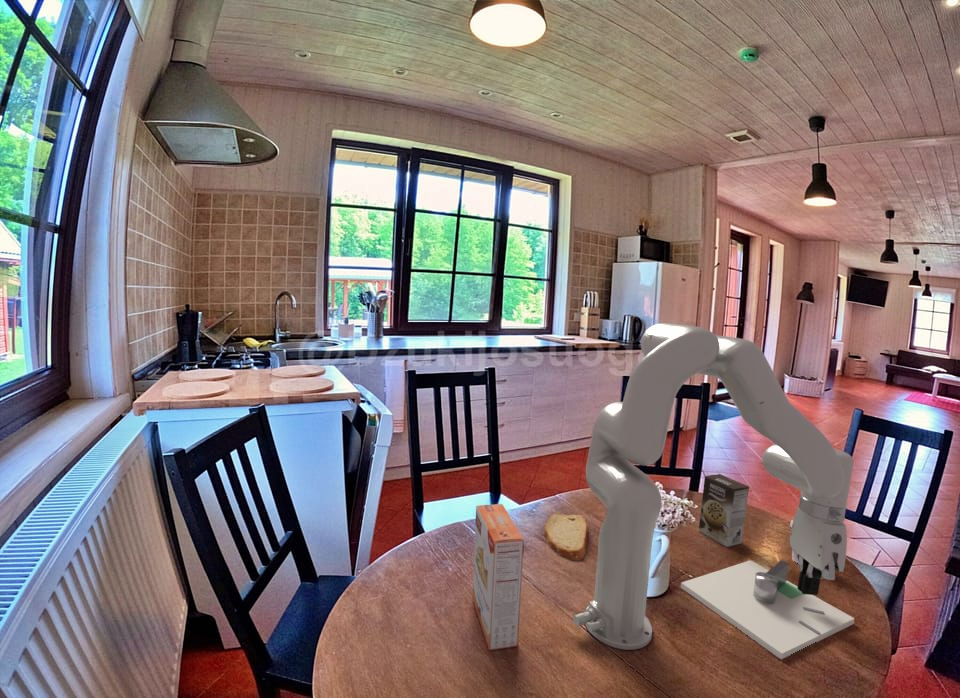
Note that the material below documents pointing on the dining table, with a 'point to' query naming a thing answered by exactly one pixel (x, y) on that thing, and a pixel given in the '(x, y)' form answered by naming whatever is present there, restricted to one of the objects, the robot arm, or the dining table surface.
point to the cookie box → (723, 509)
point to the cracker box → (497, 576)
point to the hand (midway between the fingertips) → (807, 592)
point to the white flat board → (767, 609)
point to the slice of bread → (567, 535)
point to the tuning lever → (770, 582)
